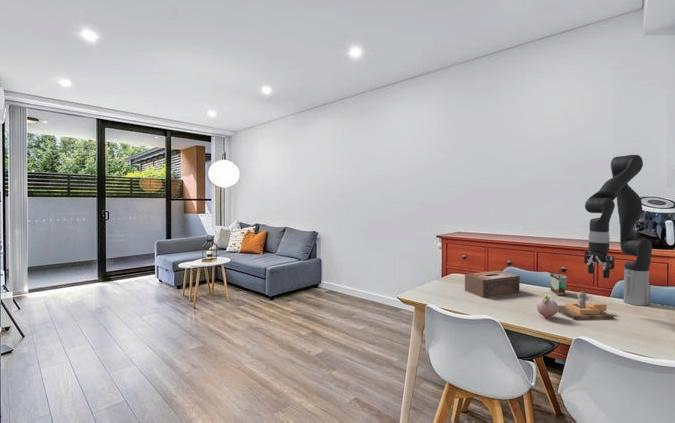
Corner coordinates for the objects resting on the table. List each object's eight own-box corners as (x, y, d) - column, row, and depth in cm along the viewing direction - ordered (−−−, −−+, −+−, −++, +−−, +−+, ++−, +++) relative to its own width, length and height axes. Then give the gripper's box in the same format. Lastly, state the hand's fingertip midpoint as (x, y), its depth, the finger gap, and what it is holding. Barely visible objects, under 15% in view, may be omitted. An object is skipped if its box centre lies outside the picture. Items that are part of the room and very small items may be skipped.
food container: (572, 297, 177) (572, 278, 177) (559, 296, 178) (559, 278, 178) (561, 290, 189) (561, 273, 189) (549, 290, 190) (549, 273, 190)
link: (596, 306, 157) (596, 300, 157) (612, 313, 148) (612, 307, 148) (565, 307, 157) (565, 301, 157) (580, 314, 148) (580, 307, 148)
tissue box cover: (482, 298, 178) (482, 280, 178) (464, 291, 192) (464, 274, 191) (519, 293, 186) (519, 275, 186) (499, 286, 200) (499, 270, 199)
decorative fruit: (558, 322, 142) (558, 300, 142) (536, 319, 146) (536, 297, 146) (557, 316, 150) (558, 294, 150) (536, 312, 154) (537, 292, 154)
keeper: (588, 308, 160) (589, 287, 159) (613, 318, 146) (614, 296, 145) (552, 308, 159) (552, 288, 159) (573, 319, 145) (574, 296, 145)
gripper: (620, 243, 144) (619, 279, 145) (594, 238, 158) (593, 272, 159) (603, 243, 144) (603, 279, 145) (579, 239, 158) (578, 272, 159)
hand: (598, 275), depth 152 cm, fingers open, 8 cm apart
